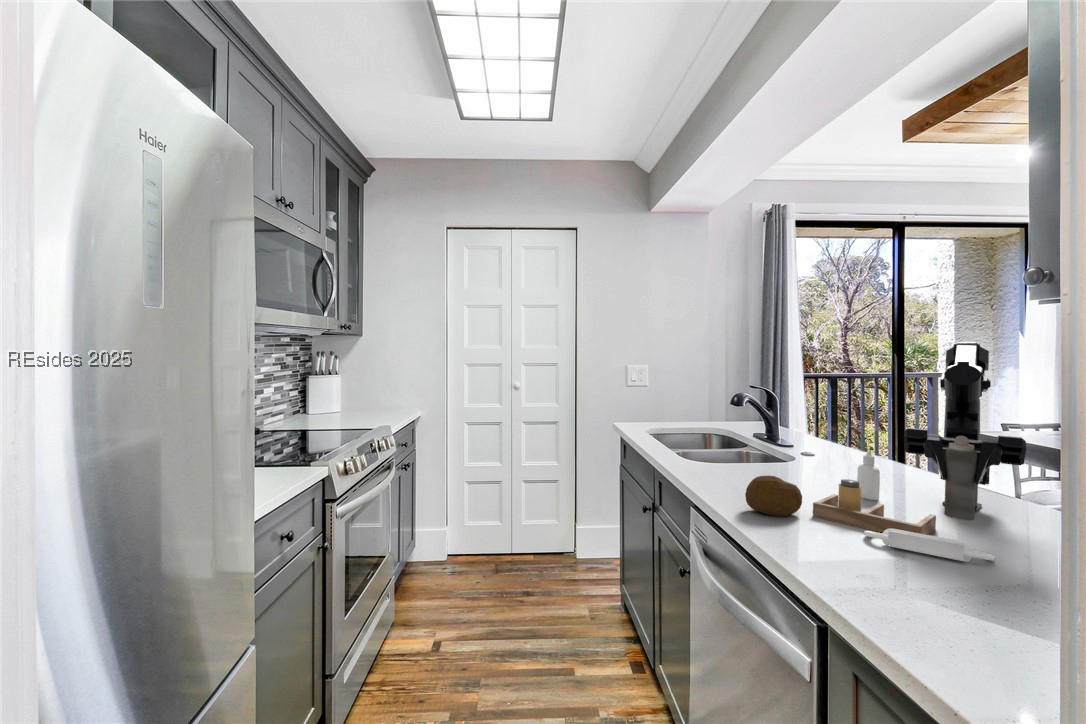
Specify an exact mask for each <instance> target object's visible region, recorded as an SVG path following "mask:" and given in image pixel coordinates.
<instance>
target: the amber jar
mask: <svg viewBox="0 0 1086 724" xmlns="http://www.w3.org/2000/svg"><path fill="white" fill-rule="evenodd" d="M859 483H860V482H858V481H857V480H855V479H848V478H847V479H845V478H844V479H840V482H839V483H838V507H841V508H845V509H850V510H854V511H859V512H862V497H861V488H862V487H861V486H859Z"/></svg>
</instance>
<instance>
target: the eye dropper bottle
mask: <svg viewBox="0 0 1086 724" xmlns="http://www.w3.org/2000/svg"><path fill="white" fill-rule="evenodd" d="M862 458H863V460H862V463H863V464H862V463H861V464H860V465H858V466H857V474H856V475H857V480H856V481H858V482H860V483H859V486H861V487H862V488H861V499H864V498H865V499H864V500H867V501H879V500H880V487H881V486H880V484H881V481H880V480H881V479H880V478H881V476H880V475H881V473H880V470H879V468H878V467H877V466H876V465H875V456H874V455H872V452H871V450H866V454H864V455H863V456H862Z"/></svg>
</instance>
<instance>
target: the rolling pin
mask: <svg viewBox="0 0 1086 724" xmlns="http://www.w3.org/2000/svg"><path fill="white" fill-rule="evenodd" d="M863 535H864V536H866V537H870V538H874V539H878V540H881V541H882V543H883V544H885V546H886V545H888V546H887V547H890V548H891V547H892V548H896V549H899V550H900V549H901V550H906V551H911V552H915V553H921V554H926V555H930V556H931V555H932V556H936V557H939V558H946V559H950V560H955V561H960V562H967V563H969V562H970V561H971V560H972V558H974V559H975V558H976V559H981V560H987V561H995V560H996V555H994V554H991V553H987V552H983V551H976V550H974V549H973V550H972V548H971V546H970V545H969V544H968V543H967V542H964V541H961V540H958V539H957V540H956V539H951V538H945V537H942V536H941V537H940V536H935V535H931V534H929V535H925V534H920V533H914V532H909V531H903V530H898V529H886V530H885V531H884V532H883V533H880V532H876V531H872V530H864V531H863ZM889 545H890V546H889ZM894 546H895V547H894Z"/></svg>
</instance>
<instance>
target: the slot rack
mask: <svg viewBox="0 0 1086 724" xmlns="http://www.w3.org/2000/svg"><path fill="white" fill-rule="evenodd" d="M838 499H839V494H834V493H833V494H830V495H828V496H826V497H824V498H822V499H820V500H817V501H814V502H813V503H812V517H814V518H819V519H824V520H827V521H828V520H829V521H832V522H836V523H839V524H844V525H848V526H852V527H856V528H860V529H864V530H867V531H872V530H873V531H872V532H876V531H878V533H880V532H882V533H883V532H884V531H885V530H886V529H898V530H903V531H909V532H914V533H920V534H925V535H931V534H932V533H933V532H934V531H936V527H937V525H936V524H937V515H936V514H931V513H930V514H928V515H926V516H925V517H924V518H923V519H921V520H920V521H918V522H917V523H911V522H908V521H902V520H898V519H894V518H890V517H885V504H883V503H877V504H875V505H874V506H871V507H870V508H868V509H866V510H864V511H863V512H862V511H861V512H859V511H854V510H850V509H845V508H841V507H838Z"/></svg>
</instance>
